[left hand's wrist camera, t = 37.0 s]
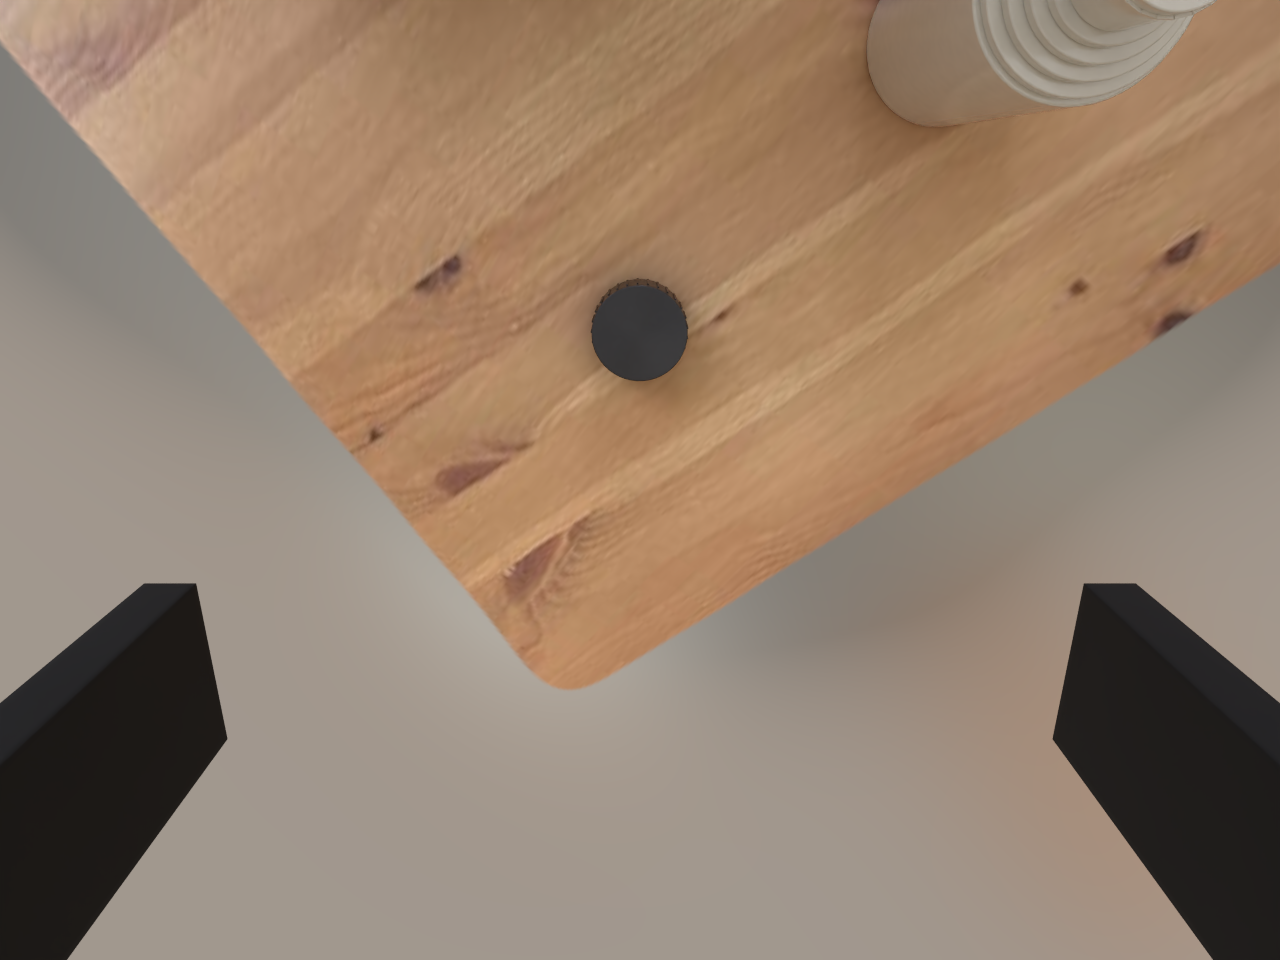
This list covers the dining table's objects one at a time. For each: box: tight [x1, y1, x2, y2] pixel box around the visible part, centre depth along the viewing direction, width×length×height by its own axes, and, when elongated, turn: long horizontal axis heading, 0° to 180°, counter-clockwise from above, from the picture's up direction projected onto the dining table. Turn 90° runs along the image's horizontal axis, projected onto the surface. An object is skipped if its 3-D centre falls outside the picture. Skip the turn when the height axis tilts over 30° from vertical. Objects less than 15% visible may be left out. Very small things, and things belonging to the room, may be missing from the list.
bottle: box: [867, 0, 1217, 127], centre depth 29 cm, size 7×7×18 cm
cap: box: [591, 278, 688, 381], centre depth 40 cm, size 4×4×2 cm
